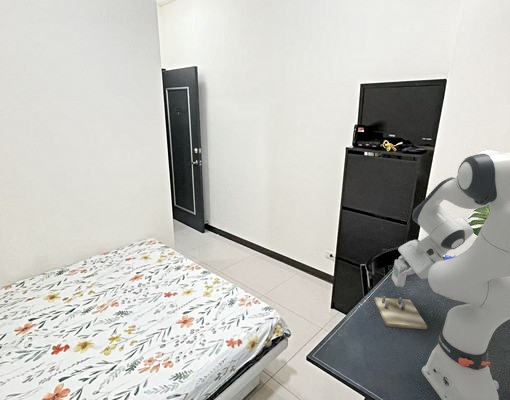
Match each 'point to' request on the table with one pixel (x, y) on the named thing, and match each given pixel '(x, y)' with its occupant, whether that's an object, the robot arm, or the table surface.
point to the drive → (396, 274)
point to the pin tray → (399, 313)
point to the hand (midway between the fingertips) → (398, 269)
